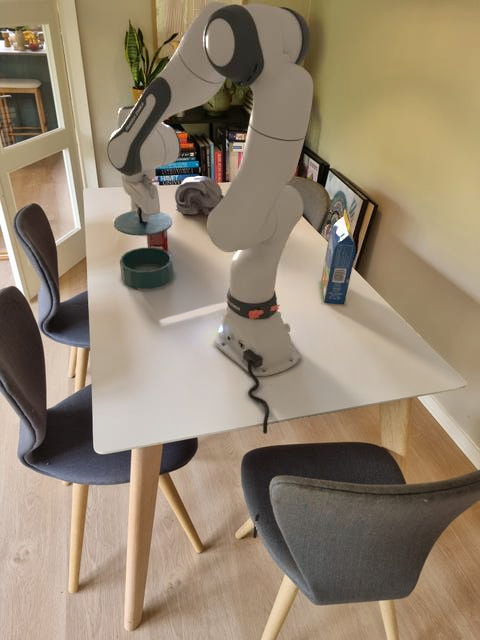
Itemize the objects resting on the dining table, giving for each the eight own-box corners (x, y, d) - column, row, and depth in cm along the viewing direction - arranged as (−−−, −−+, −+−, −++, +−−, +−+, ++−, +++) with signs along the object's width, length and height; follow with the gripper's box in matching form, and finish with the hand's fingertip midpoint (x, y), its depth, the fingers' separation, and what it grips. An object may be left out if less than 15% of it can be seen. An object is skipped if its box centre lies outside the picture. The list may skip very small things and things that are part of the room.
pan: (180, 283, 138) (180, 265, 134) (131, 295, 131) (129, 276, 128) (161, 261, 149) (160, 243, 145) (115, 271, 142) (113, 253, 138)
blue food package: (340, 284, 142) (355, 209, 127) (344, 305, 132) (362, 226, 118) (320, 282, 142) (333, 207, 128) (323, 303, 133) (338, 225, 118)
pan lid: (181, 231, 128) (180, 214, 125) (124, 242, 121) (122, 224, 118) (159, 210, 139) (158, 194, 136) (106, 218, 132) (104, 202, 129)
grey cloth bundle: (226, 210, 189) (225, 174, 183) (221, 219, 173) (221, 179, 167) (179, 210, 190) (177, 173, 184) (170, 218, 174) (168, 178, 168)
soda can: (164, 258, 150) (162, 225, 143) (145, 255, 151) (142, 222, 144) (170, 249, 156) (169, 217, 149) (152, 246, 157) (149, 214, 149)
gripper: (164, 180, 115) (167, 230, 123) (137, 158, 129) (141, 204, 137) (140, 183, 112) (145, 234, 120) (115, 160, 126) (121, 207, 134)
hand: (142, 218), depth 129 cm, fingers closed on pan lid, 2 cm apart
